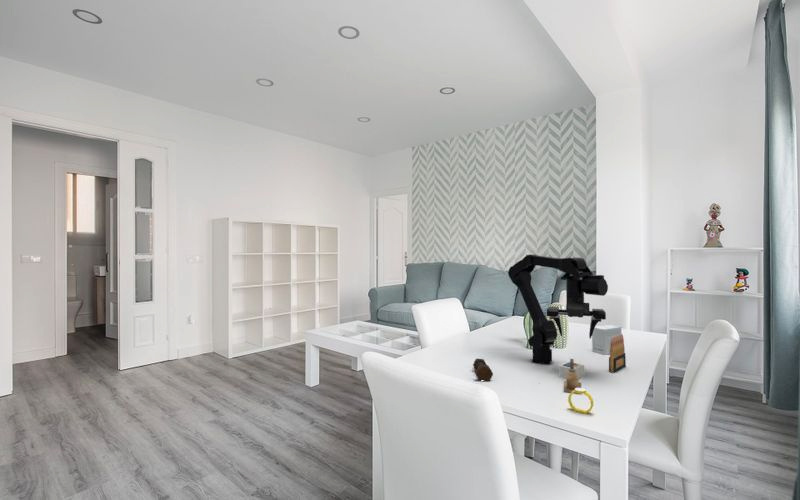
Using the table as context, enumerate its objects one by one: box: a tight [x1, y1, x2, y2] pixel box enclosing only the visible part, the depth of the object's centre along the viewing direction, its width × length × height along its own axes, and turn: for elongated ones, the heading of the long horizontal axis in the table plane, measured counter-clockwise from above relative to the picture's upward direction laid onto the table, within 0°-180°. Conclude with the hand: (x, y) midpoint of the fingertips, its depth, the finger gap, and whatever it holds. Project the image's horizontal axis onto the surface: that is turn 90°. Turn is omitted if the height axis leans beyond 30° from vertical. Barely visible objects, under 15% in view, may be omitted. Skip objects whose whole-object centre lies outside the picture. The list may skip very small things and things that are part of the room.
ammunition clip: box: [608, 333, 627, 374], centre depth 137 cm, size 11×2×12 cm, turn 131°
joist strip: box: [563, 380, 583, 395], centre depth 127 cm, size 5×25×1 cm, turn 156°
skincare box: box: [591, 324, 622, 356], centre depth 161 cm, size 10×6×10 cm, turn 114°
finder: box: [558, 361, 585, 380], centre depth 130 cm, size 5×7×4 cm
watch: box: [567, 387, 594, 414], centre depth 103 cm, size 6×3×6 cm, turn 51°
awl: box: [566, 358, 579, 389], centre depth 119 cm, size 3×3×9 cm
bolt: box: [472, 358, 494, 382], centre depth 134 cm, size 6×5×15 cm
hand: (575, 337), depth 136 cm, fingers open, 9 cm apart
